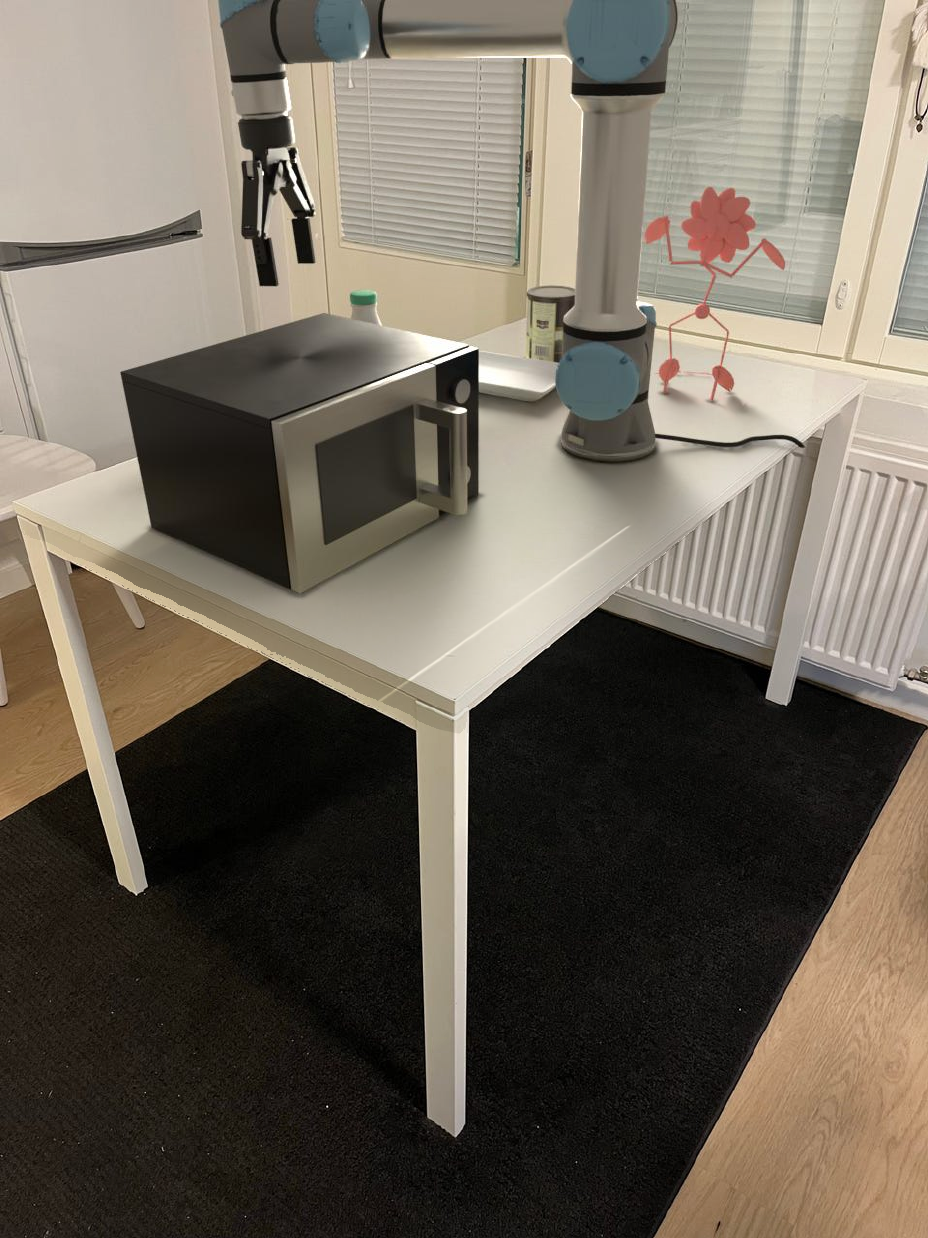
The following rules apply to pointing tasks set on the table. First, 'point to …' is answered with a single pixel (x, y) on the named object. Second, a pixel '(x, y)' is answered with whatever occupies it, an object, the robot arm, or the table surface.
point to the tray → (515, 376)
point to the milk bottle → (364, 306)
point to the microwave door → (365, 472)
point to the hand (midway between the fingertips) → (288, 274)
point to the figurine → (712, 256)
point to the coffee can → (547, 321)
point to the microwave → (268, 424)
